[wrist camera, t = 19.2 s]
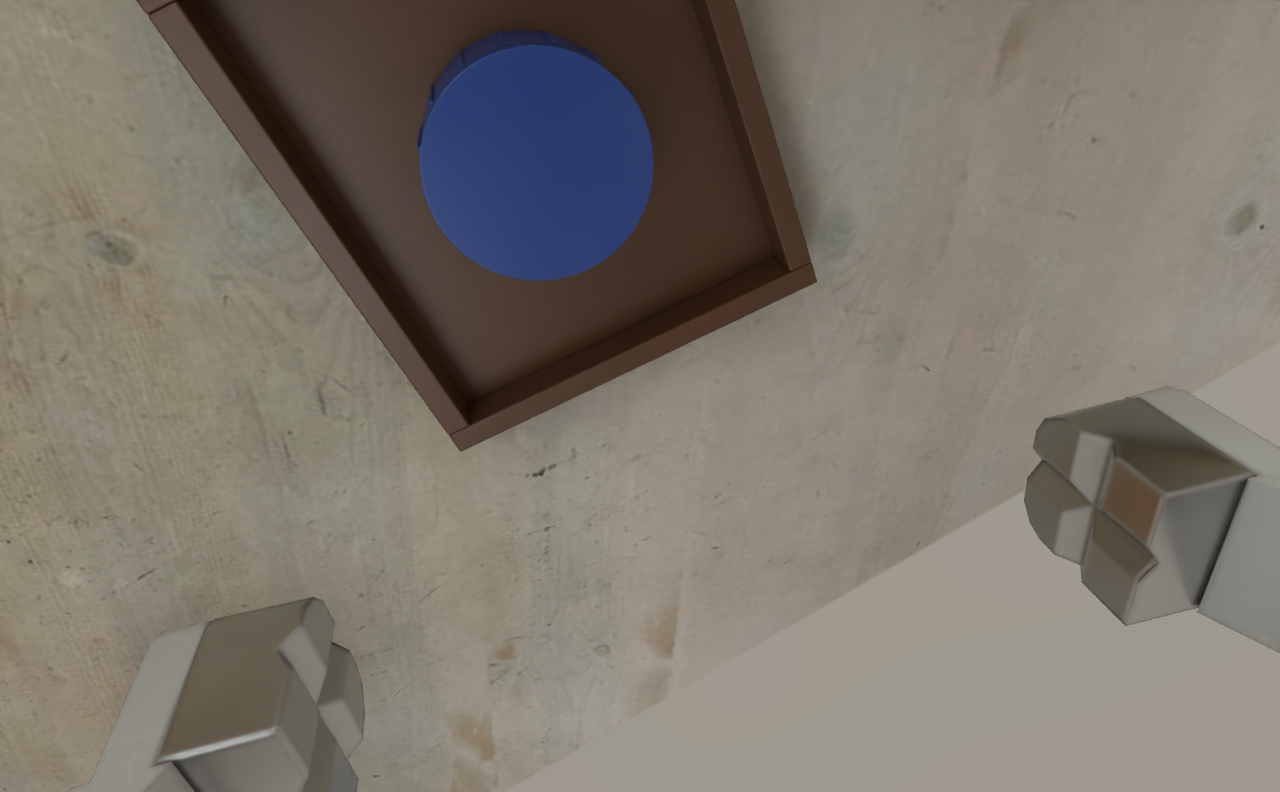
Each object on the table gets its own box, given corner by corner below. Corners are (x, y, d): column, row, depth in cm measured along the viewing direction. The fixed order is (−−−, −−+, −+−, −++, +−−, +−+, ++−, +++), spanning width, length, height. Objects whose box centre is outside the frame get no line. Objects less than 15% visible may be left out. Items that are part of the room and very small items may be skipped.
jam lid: (454, -10, 20) (456, 0, 18) (661, 78, 23) (691, 98, 20) (398, 207, 23) (392, 244, 20) (589, 265, 25) (607, 307, 23)
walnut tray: (794, 259, 28) (817, 282, 26) (459, 419, 28) (460, 452, 26) (631, -269, 19) (651, -289, 17) (149, -25, 19) (120, -20, 18)
